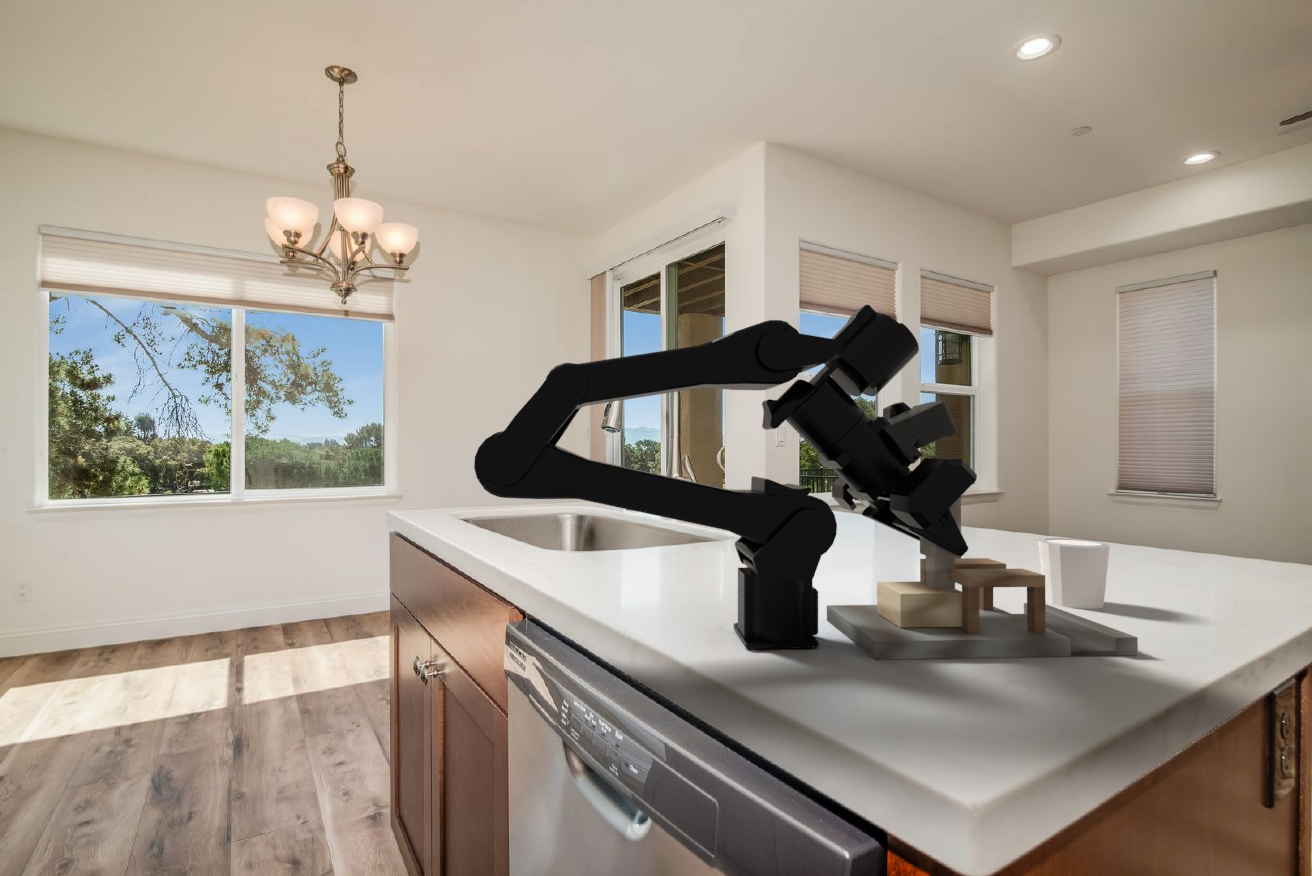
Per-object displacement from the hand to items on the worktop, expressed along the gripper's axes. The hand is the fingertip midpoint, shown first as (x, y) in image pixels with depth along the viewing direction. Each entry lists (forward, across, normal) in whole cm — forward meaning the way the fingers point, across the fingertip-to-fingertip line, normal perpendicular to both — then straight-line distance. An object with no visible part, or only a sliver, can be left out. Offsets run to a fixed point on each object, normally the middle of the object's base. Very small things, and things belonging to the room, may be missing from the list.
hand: (954, 549), depth 59 cm
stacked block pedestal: (+2, 0, +7) cm, 7 cm away
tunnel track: (+6, 0, +5) cm, 8 cm away
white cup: (+21, +12, -9) cm, 25 cm away
